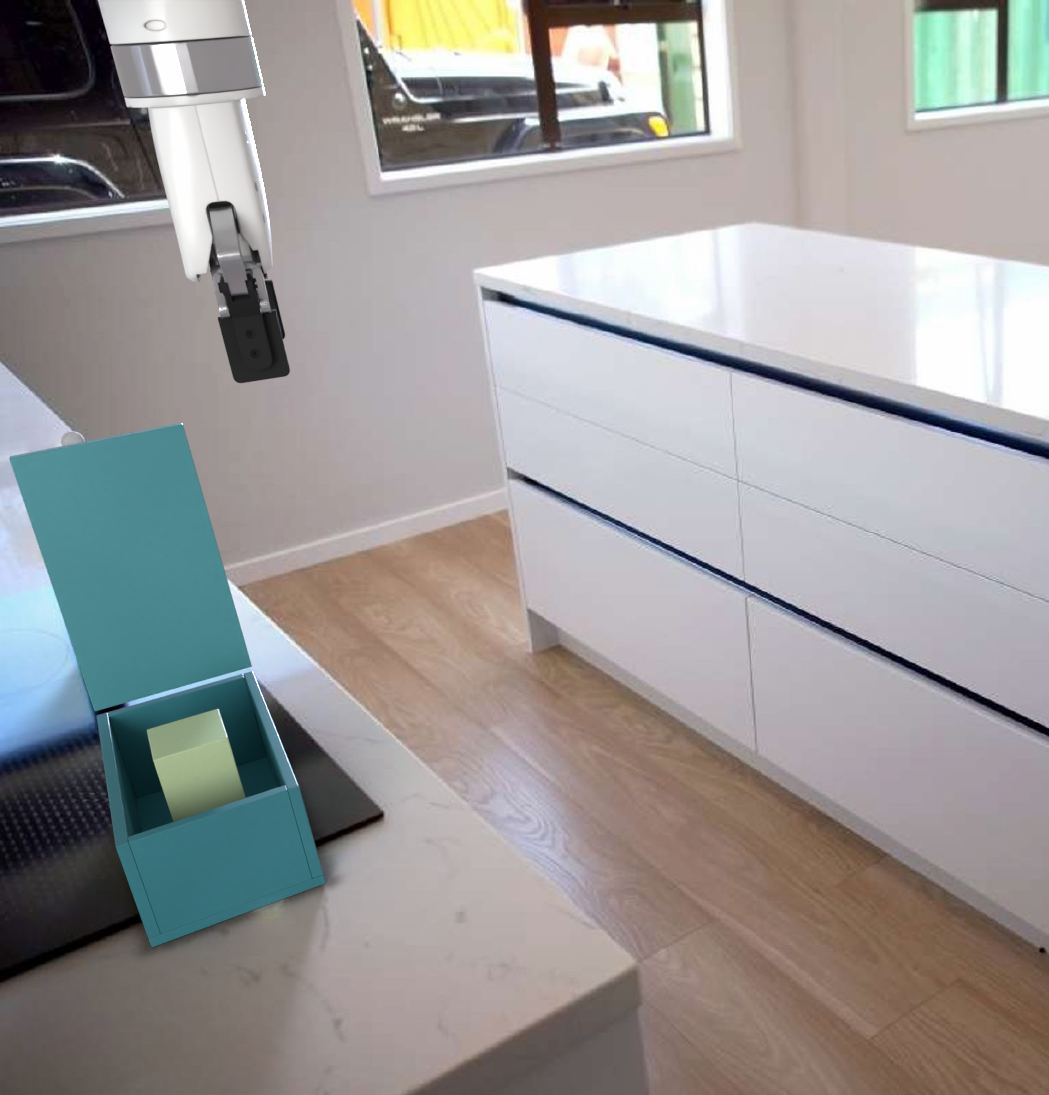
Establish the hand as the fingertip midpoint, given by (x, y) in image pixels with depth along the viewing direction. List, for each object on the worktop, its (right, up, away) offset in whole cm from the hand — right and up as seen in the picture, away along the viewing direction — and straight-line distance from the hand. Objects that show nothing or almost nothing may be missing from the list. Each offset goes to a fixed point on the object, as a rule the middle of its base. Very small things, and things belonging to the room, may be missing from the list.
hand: (262, 359), depth 80 cm
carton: (-5, -32, +5) cm, 33 cm away
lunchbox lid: (-12, -14, +7) cm, 19 cm away
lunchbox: (-6, -32, +6) cm, 34 cm away
